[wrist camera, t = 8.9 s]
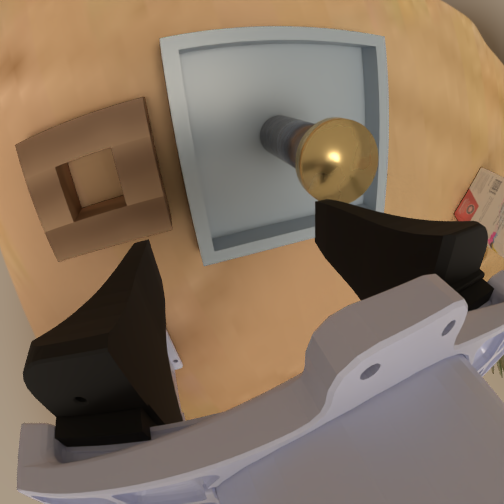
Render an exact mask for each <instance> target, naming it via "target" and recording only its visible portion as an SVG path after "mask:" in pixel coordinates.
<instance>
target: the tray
mask: <svg viewBox="0 0 504 504" xmlns="http://www.w3.org/2000/svg"><path fill="white" fill-rule="evenodd" d="M160 50H161V57H162V64H163V70H164V77H165V83H166V89H167V95H168V101H169V107H170V113H171V118H172V124H173V129H174V135H175V140H176V145H177V150H178V155H179V160H180V165H181V170H182V175H183V180H184V185H185V189H186V194H187V199H188V203H189V208H190V212H191V216H192V221H193V225H194V229H195V234H196V238H197V242H198V246H199V250H200V254H201V258H202V261H203V265H204V266H207V265H211V264H215V263H219V262H223V261H227V260H230V259H234V258H238V257H242V256H246V255H250V254H254V253H257V252H261V251H265V250H269V249H273V248H277V247H281V246H284V245H288V244H292V243H296V242H300V241H304V240H307V239H311V238H315V201H318V200H317V199H315V198H314V197H313V196H311V195H310V194H309V193H308V192H307V191H306V190H305V189H304V188H303V187H302V185H301V184H300V182H299V180H298V177H297V173H296V169H295V168H293V167H292V166H290V165H289V164H287V163H285V162H284V161H282V160H281V159H279V158H277V157H276V156H274V155H272V154H271V153H269V152H268V151H266V150H265V149H264V148H263V146H262V144H261V142H260V130H261V127H262V125H263V124H264V122H265V121H266V120H268V119H269V118H271V117H273V116H277V115H283V116H287V117H291V118H295V119H299V120H303V121H307V122H311V123H314V124H316V123H317V122H319V121H321V120H323V119H326V118H331V117H341V118H346V119H350V120H354V121H356V122H359V123H360V124H362V125H363V126H365V127H366V128H367V129H368V130H369V131H370V133H371V134H372V135H373V137H374V139H375V142H376V145H377V149H378V167H377V171H376V174H375V177H374V179H373V181H372V183H371V185H370V186H369V188H368V189H367V190H366V191H365V193H364V194H363V195H361V196H360V197H359V198H358V199H356V200H355V201H353V202H351V203H349V204H352V205H356V206H360V207H363V208H367V209H370V210H374V211H378V212H382V213H384V206H385V195H386V182H387V167H388V142H389V95H388V72H387V57H386V46H385V37H384V36H379V35H373V34H367V33H361V32H354V31H346V30H337V29H327V28H314V27H292V26H262V27H240V28H227V29H216V30H207V31H200V32H193V33H186V34H180V35H174V36H169V37H164V38H160Z"/></svg>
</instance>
